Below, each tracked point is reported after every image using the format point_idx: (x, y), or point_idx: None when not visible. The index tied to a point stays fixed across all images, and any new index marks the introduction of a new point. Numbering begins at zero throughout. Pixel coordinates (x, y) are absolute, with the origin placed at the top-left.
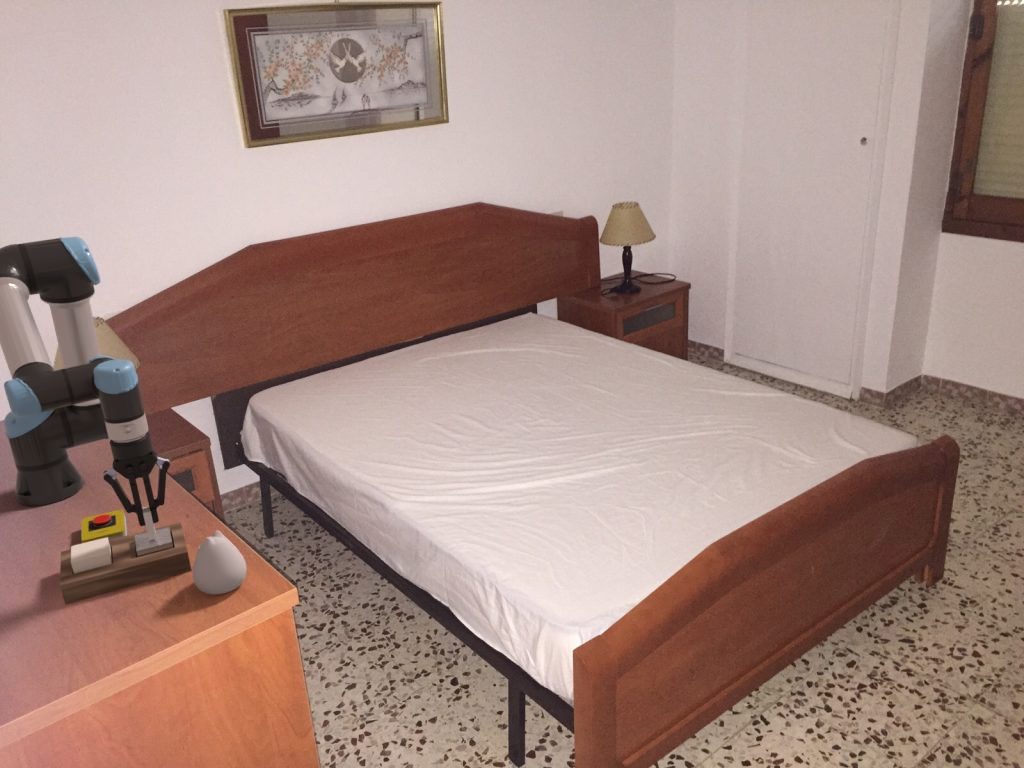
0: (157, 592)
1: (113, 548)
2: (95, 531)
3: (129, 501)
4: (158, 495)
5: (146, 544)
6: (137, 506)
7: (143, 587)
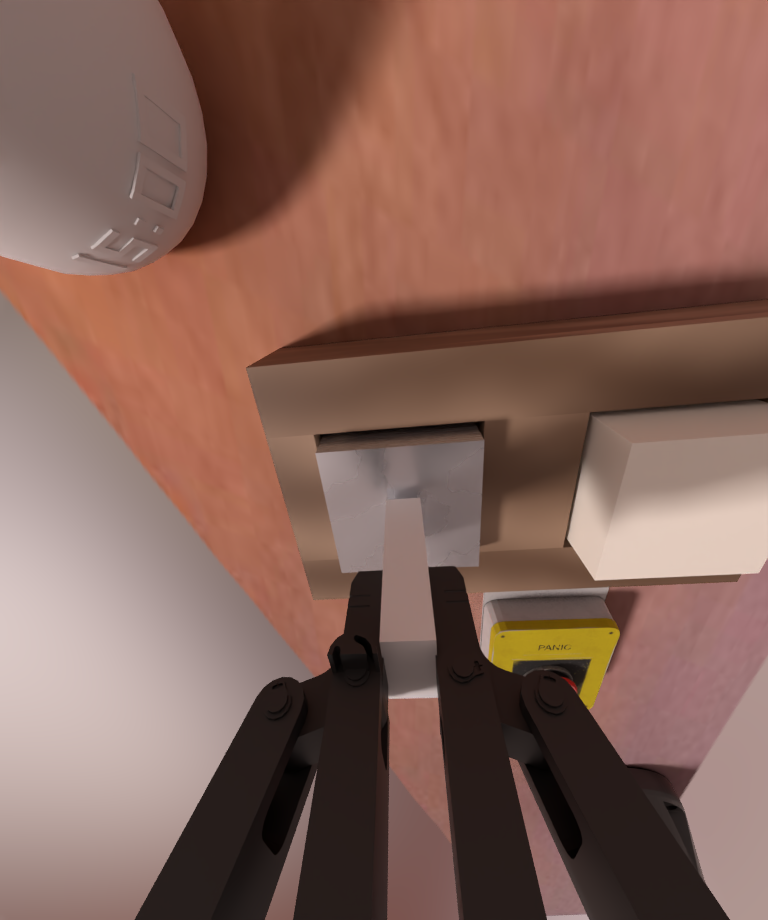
0: (407, 217)
1: (561, 530)
2: (573, 653)
3: (544, 801)
4: (265, 808)
5: (434, 479)
6: (479, 723)
7: (461, 295)
